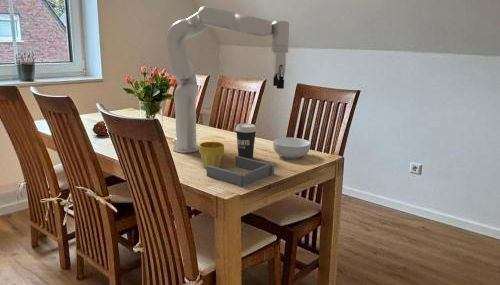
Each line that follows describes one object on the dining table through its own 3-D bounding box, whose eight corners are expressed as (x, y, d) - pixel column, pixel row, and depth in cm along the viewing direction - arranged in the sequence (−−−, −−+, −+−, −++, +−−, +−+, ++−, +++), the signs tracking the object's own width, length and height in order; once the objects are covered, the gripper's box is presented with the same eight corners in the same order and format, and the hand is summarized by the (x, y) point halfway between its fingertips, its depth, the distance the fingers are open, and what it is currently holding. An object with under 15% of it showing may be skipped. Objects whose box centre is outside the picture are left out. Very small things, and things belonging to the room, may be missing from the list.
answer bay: (205, 176, 172) (205, 166, 171) (238, 164, 188) (238, 155, 187) (242, 187, 161) (242, 176, 160) (275, 173, 177) (275, 164, 176)
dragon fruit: (101, 141, 230) (100, 139, 241) (114, 130, 232) (112, 129, 243) (90, 128, 227) (89, 127, 238) (103, 118, 229) (101, 117, 240)
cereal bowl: (279, 162, 192) (280, 147, 190) (268, 152, 207) (268, 138, 206) (315, 160, 196) (316, 145, 194) (301, 150, 212) (302, 136, 210)
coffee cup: (234, 155, 202) (234, 123, 198) (255, 154, 203) (255, 123, 199) (235, 161, 193) (235, 127, 189) (257, 160, 194) (257, 127, 190)
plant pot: (226, 169, 181) (226, 146, 178) (201, 171, 178) (201, 148, 175) (221, 162, 190) (221, 140, 188) (197, 164, 187) (197, 142, 185)
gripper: (268, 48, 206) (267, 84, 210) (274, 49, 189) (273, 89, 193) (284, 48, 206) (283, 85, 211) (291, 50, 190) (290, 89, 194)
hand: (278, 87), depth 202 cm, fingers open, 9 cm apart
